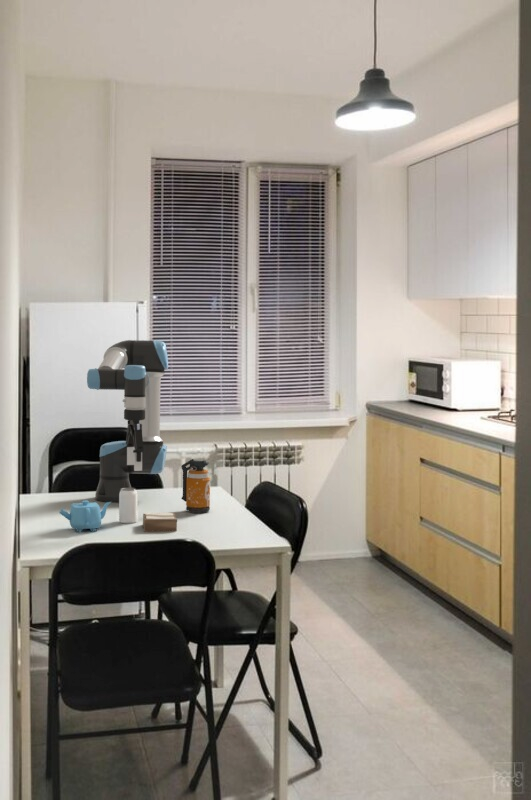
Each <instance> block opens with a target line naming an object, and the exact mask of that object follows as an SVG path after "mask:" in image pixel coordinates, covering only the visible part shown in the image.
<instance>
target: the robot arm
mask: <svg viewBox="0 0 531 800" xmlns="http://www.w3.org/2000/svg"><path fill="white" fill-rule="evenodd" d="M168 369H169V357H168V351H167V345H166V343H165V342H164V341H162V340H153V339H152V340H140V339H139V340H137V339H136V340H135V339H134V340H132V339H130V340H129V339H128V340H122V341H120V342H117V343H115V344H113V345H110V346H109V347H108V348H107V349H106V350H105V352H104V355H103V360H102V361H101V363H100V365H99V367H98V368H97V367H96V368H89V369H88V370H87V374H86V385H87V388H89V390H97V391H99V390H101V391H102V390H105V391H106V390H109V391H111V390H118V391H121V390H122V391H124V395H123V397H124V399H123V398H122V402H123V406H124V408H125V409H124V410H123V419H124V420H126V421H127V429H126V438H125V440H118V441H117V440H116V441H111V442H106V443H104V444H101V446H100V449H99V481H98V484H97V487H96V490H95V494H94V496H95V500H96V501H99V502H105V503H108V502H112V503H119V493H120V491H121V488H132V485H131V483H130V474H137V475H139V474H144V475H145V474H147V475H154V474H157V475H158V474H161V473H163V471H164V468H165V464H166V458H167V450H168V448H167V447H168V446H167V445H165V444H164V440H163V439H162V438H161V436H160V435H161V434H160V433H161V429H160V428H161V427H160V426H161V424H160V423H161V381H162V379H161V378H163V376H164V375H165V370H168Z"/></svg>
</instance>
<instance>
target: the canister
mask: <svg viewBox="0 0 531 800" xmlns="http://www.w3.org/2000/svg"><path fill="white" fill-rule="evenodd" d="M209 464H210V463H209V462H208V461H207V460H197V459H193V458H192V459H190V460H188V461H186V462H185V463H183V464H181V465H180V466H181V469H182V496H181V498H180V499H181V500H182V501H183V502H186V503H185V505H186V508H185V510H186V511H187V512H190V513H193V514H203V513H207V512H208V511H210V510H211V507H210V505H211V504H210V502H211V495H210V494H211V478H210V475H209V470H208V469H205V468H206V466H208V465H209ZM188 465H189V466H188ZM187 466H188V467H187Z"/></svg>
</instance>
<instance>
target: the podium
mask: <svg viewBox="0 0 531 800" xmlns="http://www.w3.org/2000/svg"><path fill="white" fill-rule="evenodd" d="M177 522H178V519H177V516H176V514H175V512H149V513H148V512H145V513H142V526H143V530H144V533H149V532H177V531H178V529H177V528H178V523H177Z"/></svg>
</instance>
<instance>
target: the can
mask: <svg viewBox="0 0 531 800" xmlns="http://www.w3.org/2000/svg"><path fill="white" fill-rule="evenodd" d="M118 503H119V504H118V521H119V522H120V524H125V525H126V524H127V525H128V524H135V523H137V522H138V491H137V487H131V488H121V491H120V493H119V502H118Z"/></svg>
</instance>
